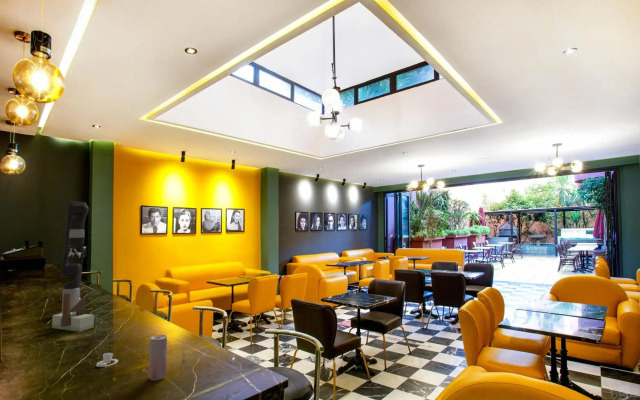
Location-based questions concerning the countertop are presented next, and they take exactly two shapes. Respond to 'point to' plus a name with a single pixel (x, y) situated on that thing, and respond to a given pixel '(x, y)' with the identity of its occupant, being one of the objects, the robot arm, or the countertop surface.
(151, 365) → the beverage can
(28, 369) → the countertop surface
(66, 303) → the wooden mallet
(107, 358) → the teacup and saucer
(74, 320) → the slotted beam
